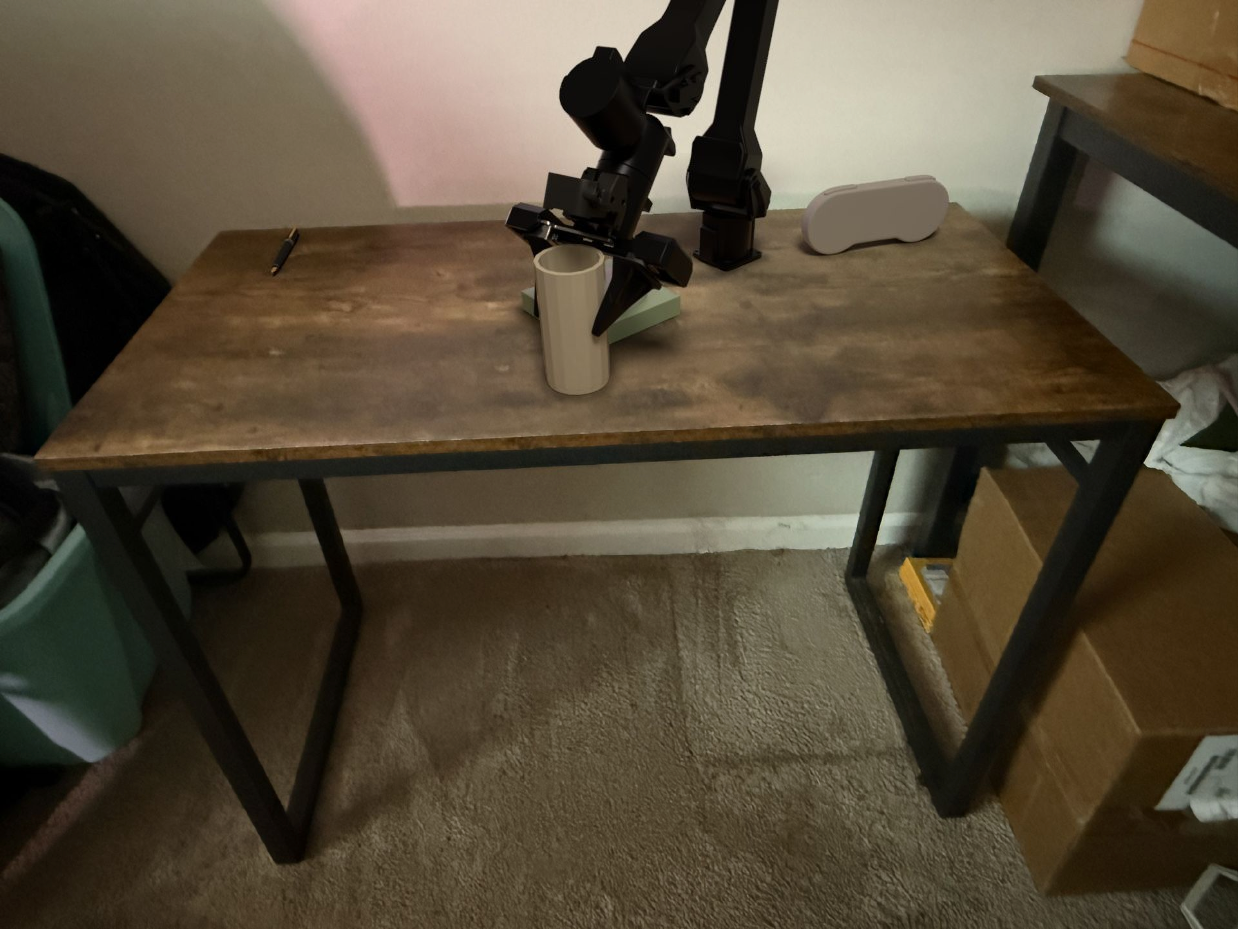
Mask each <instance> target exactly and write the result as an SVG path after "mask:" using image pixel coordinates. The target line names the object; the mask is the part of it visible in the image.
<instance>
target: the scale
mask: <svg viewBox="0 0 1238 929" xmlns="http://www.w3.org/2000/svg"><path fill="white" fill-rule="evenodd" d="M612 264H613V258H608V259H605V272H606V291H607V288H608V286H609V284H610V281H611V278H612ZM534 290H535V285H534V286H532V287H528V288H526V289H523V290H521V291H520V294H521V301H522V309H523V311H525V312H526V313H528V314H529V315H531V316H532V317H534V318H535V319H537V320H538V321H540V319H538V318H536V317H535V316H534ZM680 314H681V295H680V294H679V293H677V292H674V291H672V290H671V289H669V288H667V287H665V286H663V285H662V288H661V289H660V290H656V289H653V290H651V291H650V292H649V293H647V294H646V295H645V296H644V297H642V298H641V299H640V300H638V301H637V302H636V303H635V304H633V305H632V306H631V307H630V308H629V309H628V310H627V311H626V312H624V313H623V314H622V315H621V316H620V317H619V318H618V319H617V320H616V321H615V322H614V323H613V324H612V325H611V326H610V327H609V328H608V334H609V345H612V344H614V343H616V342H619V341H621V340H624V339H626V338H628V337H630V336H633V335H636V334H637V333H640V332H642V331H645V330H647V329H649V328H651V327H653V326H656V325H658V324H661V323H663V322H665V321H667V320H670V319H672V318H674V317H677V316H679V315H680Z"/></svg>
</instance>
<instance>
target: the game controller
mask: <svg viewBox="0 0 1238 929" xmlns="http://www.w3.org/2000/svg"><path fill="white" fill-rule="evenodd" d="M949 204H950V197H949V192H948V190H947V188H946V187H945V186H944V184H942V183H941V182H940V181H938V180H937V179H936V177H935V176H932V175H930V174H917V175H916V174H915V175H909V176H908V175H907V176H905V177H901V178H893V179H885V180H878V181H871V182H862V183H856V184H854V183H851V184H843V185H837V186H836V185H835V186H832V187H829V188H827V189H825V190H823V191H821V192H820V193H819V194H817V195H816V196H814V198H813V199H812V200H811V201H810V202H809V203H808V205H807V207H806V208H805V210H804V212H803V215H802V218H801V222H800V223H801V224H800V225H801V226H800V228H801V229H800V230H801V234H802V237H803V239H804V241H805V242H806V244H808V246H810V247H811V248H812V249H813V250H814V251H815V252H817V253H819V254H822V255H835V254H836V255H837V254H839V253H842V252H844V251H846V250H847V249H849V248H850V247H852V246H853V245H857V244H858V245H859V244H863V243H870V242H871V243H872V242H877V241H884V240H891V239H897V240H899V241H901V242H905V243H917V242H919V241H922V240H924V239H926V238H928V237H929V236H931V235H932V234H934V233H935V232H936V231H937V230H938V228H939V227H940V226H941V224H942V223H943V221H944V220H945V218H946V216H947V213H948V210H949Z"/></svg>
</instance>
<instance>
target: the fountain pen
mask: <svg viewBox="0 0 1238 929" xmlns="http://www.w3.org/2000/svg"><path fill="white" fill-rule="evenodd" d="M298 236H299V229H298V228H297V226H294V227H293V228H292V230H290V232H289V233H288V234H287V236H286V237H285V239H284V241H283V243H282V246H281V247H280V249H279V252H278V253H277V255H276V258H275V259H274V262H273V264H272V265H271V270H270V272H271V274H273V273H274V272H278V271H279V268H280V267H281V266H282V264H283V262H284V261H285V259H286V258H287V256H288V254H289V253H290V251H291V249H292V248H293V247H294V245H295V243H296V241H297V238H298Z"/></svg>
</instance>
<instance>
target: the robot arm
mask: <svg viewBox="0 0 1238 929" xmlns="http://www.w3.org/2000/svg"><path fill="white" fill-rule="evenodd" d="M726 2H727V0H669V2H668V3H667V5H666V8H665V10H664V11H663V14H662V15H661V16H660V18H659V19H658V20H656V21H655V22H654V23H652V24H651V25H649V26H648V27H646V28H645V29H644V30H642V32H640V33H639V34H638V37H637V38H636V40H635V42H634V43H633V44H632V46H631V48H630V49H629V51H628V53H627V54H626V55H625V58H624V59H623V56H622V55H621V53H620V51H619V50H618V48H617V47H615V46H614V47H613V46H604V45H596V47H595V49H594V52H593V54H592V56H591V57H589V58H585V59H583V60H582V61H580V62H579V63H577V64H576V65H575V66H573V68H571V70H570V71H569V72H568V74H566V75H564V77H563V78H562V80H561V82H560V86H559V90H558V100H559V105H560V106H561V108H562V110H563V111H564V113H565V114H566V115H567V116H568V117H569V118H570V119H571V121H572V122H573V123H574V124H575V126H576V127H577V128H578V129H579V130H580V131H581V132H582V134H583V135H584V136H585V137H586V139H587V140H589V142H590V143H591V144H592V145H593V146H594V147H595V148H597V149H598V150H601V153H600V155H599V158H598V160H597V163H596V165H595V167H591V166H586V168H585V169H583V171H582V173H581V176H580V177H577V176H570V175H566V174H563V173H557V172H551V171H548V173H547V179H546V184H545V189H544V191H545V192H544V196H543V202H542V206H539V205H534V204H530V203H528V202H527V203H526V202H522V201H520V202H519V203H517V204H514V205H512V207H511V208H510V210H509V211H508V214H507V218H506V220H505V222H504V226H505V227H506V228H507V229H508V230H509V231H511V232H512V233H513V234H514V235H516V236H517V237H518V238H520V239H521V240H522V241H523V242H524V243H526V244H527V245H528V246H529V247H530V249H531V253H532V256H533V260H534V259H535V257H536V255H537V254H539V253H540V252H541V251H543V250H545V249H548V248H551V247H553V246H558V245H565V244H583V245H587V246H592V247H595V248H596V249H598V250H600V251H601V252H602V253H603V255H604V256H607V257H611V258H612V260H613V264H612V278H611V281H610V284H609V286H608V288H607V291H606V293H605V296H604V298H603V300H602V303H601V305H600V308H599V310H598V313H597V315H596V318H595V321H594V324H593V328H592V331H591V333H592V335H594V336H596V337H600V336H601V335H602V334H603V333H604V332H605V331H606V330H607V329H608V328H609V327H610V326H611V325H612V324H613V323H614V322H615V321H616V320H617V319H618V318H619V317H620V316H621V315H622V314H623V313H624V312H626V311H627V310H628V309H629V308H630V307H631V306H632V305H633V304H635V303H636V302H637V301H638V300H640V299H641V298H642V297H644V296H645V295H646V294H647V293H649V292H650V291H651V290H653V289H656V290H660V289H661V288H662V286H663V284H667V285H671V286H675V287H679V288H682V289H684V288H685V289H686V288H688V284H689V282H690V280H691V278H692V274H693V271H694V270H693V269H694V261H693V260H692V257H691V256H690V254H689V253H688V252H687V251H686V250H685V248H684V247H683V246H682V245H681V244H680V243H679V241H678V240H677V239H676V238H675V237H671V236H668V235H664V234H659V233H655V232H650V231H646V230H642V231H639V233H637V234H635V231H636V229H637V226H638V224H639V221H640V219H641V216H642V214H643V212H644V213H648V214H650V212H651V210H652V208H653V205H654V203H653V201H652V200H651V199H650V198H649V196H650V193H651V190H652V188H653V186H654V183H655V181H656V178H657V176H658V173H659V170H660V168H661V165H662V163H663V160H664V158H665V156H666V157H672V158H673V157H675V156H676V154H677V144H676V143H675V141H674V138H673V134H672V127H671V126H667V125H664V124H663V122H662V121H661V120H660V119H659V118H658V117H657V116H655V115H660V116H664V117H665V116H666V117H672V118H678V119H682V118H684V117H686V116H687V117H688V116H689V117H690V115H691V114H692V113H693V112H694V111H695V109H696V107H697V106H698V105H699V103H700V102H701V100H702V97H703V94H704V90H705V83H706V80H707V78H708V75H709V70H710V68H709V63H708V56H707V46H708V44H709V40H710V38H711V35H712V34H713V31H714V28H715V27H716V25H717V22H718V20H719V18H720V16H721V13H722V11H723V9H724V7H725V4H726ZM779 4H780V0H734V1H733V4H732V11H731V16H730V22H729V27H728V35H727V40H726V46H725V51H724V56H723V57H724V58H723V63H722V68H721V74H720V79H719V84H718V90H717V97H716V101H715V107H714V113H713V119H712V122H711V124H710V125H709V126H708V127H707V129H706V130H705V131H704V132H703V133H702V135H696V136H694V139H693V140H692V142H691V150H690V157H689V162H688V166H687V168H686V173H685V184H686V190H687V195H688V199H689V200H688V201H689V206H690V209H691V210H698V211H702V212H701V213H702V214H701V215H702V216H701V225H700V226H699V248H696V249H693V250H692V256H694V257H696V258H698V259H700V260H702V261H704V262H706V263H708V264H711V265H712V266H714V267H717V268H719V269H721V270H723V271H730V270H733V269H735V268H737V267H740V266H742V265H745V264H747V263H749V262H752V261H754V260H757V259H760V258H761V257H762V256H763V252H762V251H760V250H758V249H756V248H754V243H755V242H754V241H755V240H754V239H755V228H756V219H763V218H766V217H767V213H768V212H767V211H768V210H769V207H770V204H771V198H772V193H773V192H772V189H771V188H770V185H769V184H768V181H767V180H766V178H765V176H764V175H763V173H762V165H763V159H764V158H763V156H764V154H763V151H762V148H761V144H760V142H759V139H758V135H757V133H756V129H755V126H756V121H757V116H758V111H759V105H760V100H761V95H762V90H763V85H764V80H765V75H766V70H767V64H768V59H769V54H770V49H771V44H772V40H773V39H772V38H773V34H774V28H775V23H776V19H777V14H778V8H779ZM555 209H556V210H559V211H562V212H561V215H562V216H563V217H564V218H565V219H566V220H567V221H571V222H572V223H573V224H572V225H571V224H567V223H564V221H563V220H561V219H560V218H559V217H558V216H556V214H555V213H553V212H552V210H555ZM534 286H535V290H534V316H535V317H536V318H535V317H534V316H533V317H534V318H535V319H537V318H538V319H539V310H538V300H537V291H536V282H535V281H534ZM538 319H537V320H538Z"/></svg>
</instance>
